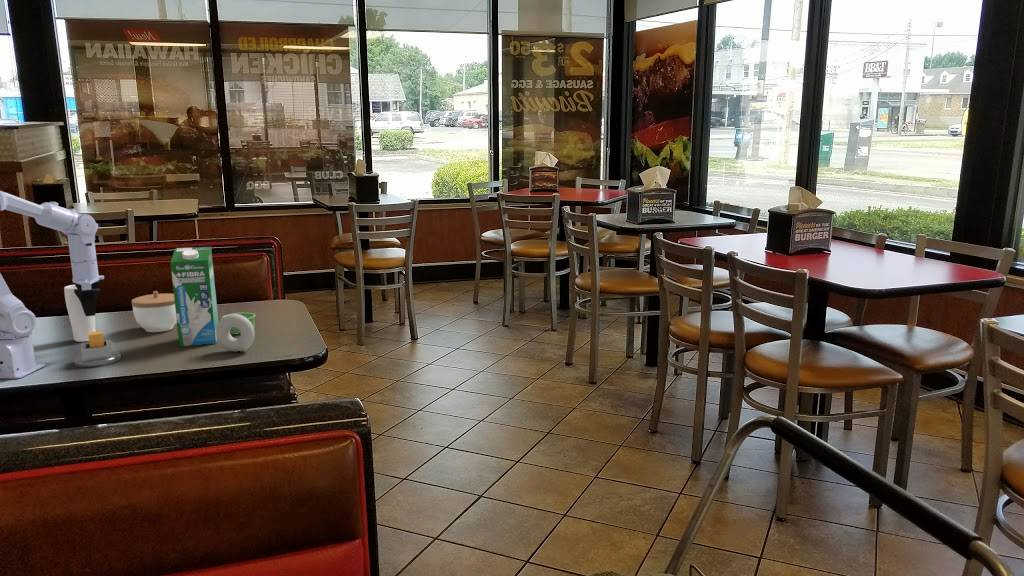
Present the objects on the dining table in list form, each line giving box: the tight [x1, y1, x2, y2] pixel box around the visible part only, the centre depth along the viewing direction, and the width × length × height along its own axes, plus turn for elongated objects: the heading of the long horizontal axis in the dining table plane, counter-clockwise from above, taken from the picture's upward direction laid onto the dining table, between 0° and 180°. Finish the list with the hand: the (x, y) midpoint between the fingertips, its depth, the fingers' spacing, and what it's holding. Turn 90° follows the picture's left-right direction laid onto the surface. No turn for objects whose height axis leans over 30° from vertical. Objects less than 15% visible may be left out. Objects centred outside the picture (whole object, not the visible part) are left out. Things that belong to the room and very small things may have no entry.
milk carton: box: [170, 246, 219, 347], centre depth 197 cm, size 9×9×25 cm
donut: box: [216, 313, 256, 353], centre depth 188 cm, size 10×4×10 cm, turn 84°
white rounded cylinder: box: [63, 283, 97, 343], centre depth 199 cm, size 7×7×15 cm
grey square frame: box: [73, 339, 122, 369], centre depth 182 cm, size 10×10×4 cm
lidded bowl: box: [130, 290, 177, 333], centre depth 210 cm, size 13×13×11 cm
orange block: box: [88, 330, 105, 348], centre depth 181 cm, size 3×3×6 cm
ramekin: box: [220, 312, 256, 335], centre depth 209 cm, size 9×9×4 cm
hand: (90, 312), depth 190 cm, fingers open, 7 cm apart
